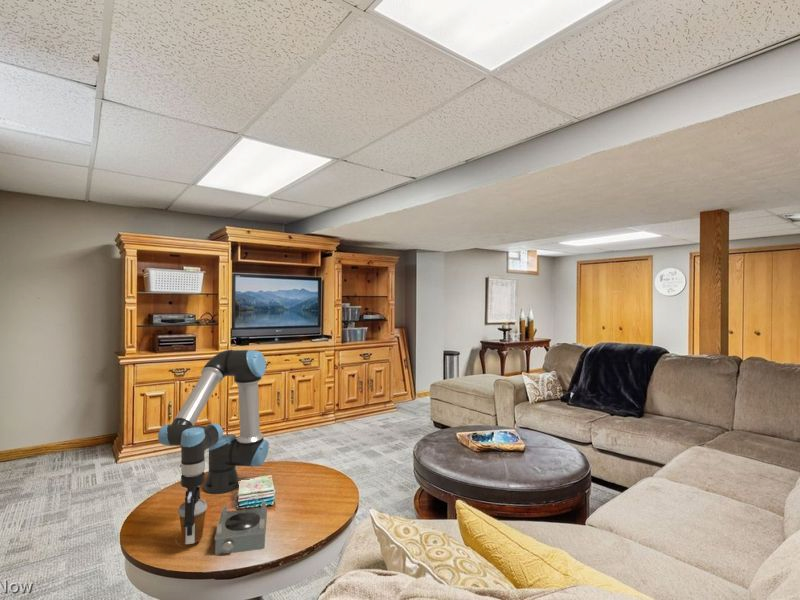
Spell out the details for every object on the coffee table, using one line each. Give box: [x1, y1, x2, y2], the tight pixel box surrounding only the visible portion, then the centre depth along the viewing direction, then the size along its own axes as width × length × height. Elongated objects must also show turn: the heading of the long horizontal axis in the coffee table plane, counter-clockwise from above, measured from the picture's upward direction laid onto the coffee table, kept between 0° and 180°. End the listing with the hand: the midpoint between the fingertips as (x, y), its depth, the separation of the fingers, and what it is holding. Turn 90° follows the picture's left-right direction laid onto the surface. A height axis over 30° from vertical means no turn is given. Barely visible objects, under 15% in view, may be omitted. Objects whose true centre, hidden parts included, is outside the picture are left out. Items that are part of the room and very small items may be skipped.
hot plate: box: [214, 501, 268, 556], centre depth 156 cm, size 20×17×9 cm
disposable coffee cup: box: [177, 498, 208, 544], centre depth 152 cm, size 10×10×12 cm
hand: (192, 536), depth 152 cm, fingers closed on disposable coffee cup, 8 cm apart
